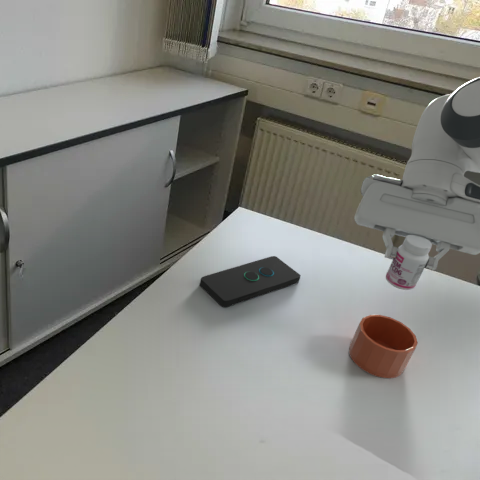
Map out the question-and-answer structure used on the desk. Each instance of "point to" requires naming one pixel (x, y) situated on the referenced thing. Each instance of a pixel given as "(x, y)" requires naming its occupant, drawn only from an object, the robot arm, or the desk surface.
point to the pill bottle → (409, 262)
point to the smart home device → (249, 281)
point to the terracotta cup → (382, 346)
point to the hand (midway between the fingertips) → (409, 263)
